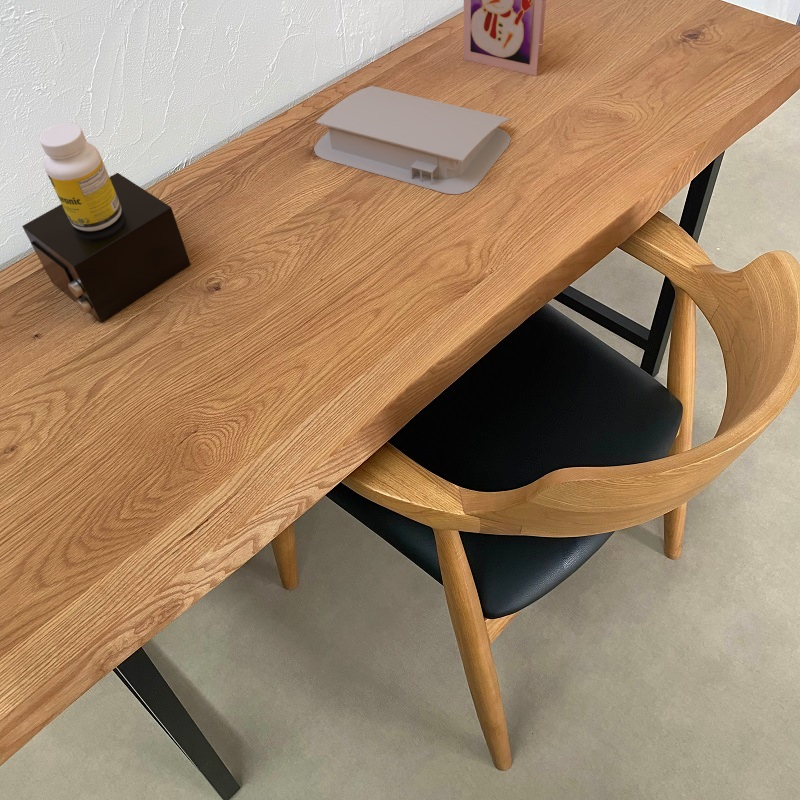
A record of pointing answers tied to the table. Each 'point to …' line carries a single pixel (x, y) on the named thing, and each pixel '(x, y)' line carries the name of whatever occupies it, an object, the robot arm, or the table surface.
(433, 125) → the miniature building model
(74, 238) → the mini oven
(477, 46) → the greeting card
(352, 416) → the table surface
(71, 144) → the supplement bottle
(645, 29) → the table surface
